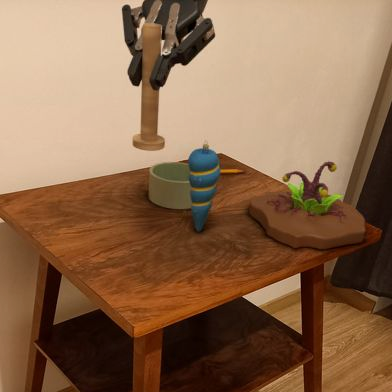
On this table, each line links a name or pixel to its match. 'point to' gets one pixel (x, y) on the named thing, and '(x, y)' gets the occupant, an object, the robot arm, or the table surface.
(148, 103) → the stick
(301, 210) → the plant
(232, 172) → the pencil
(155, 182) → the bowl
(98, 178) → the table surface
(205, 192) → the ornament
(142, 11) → the robot arm
